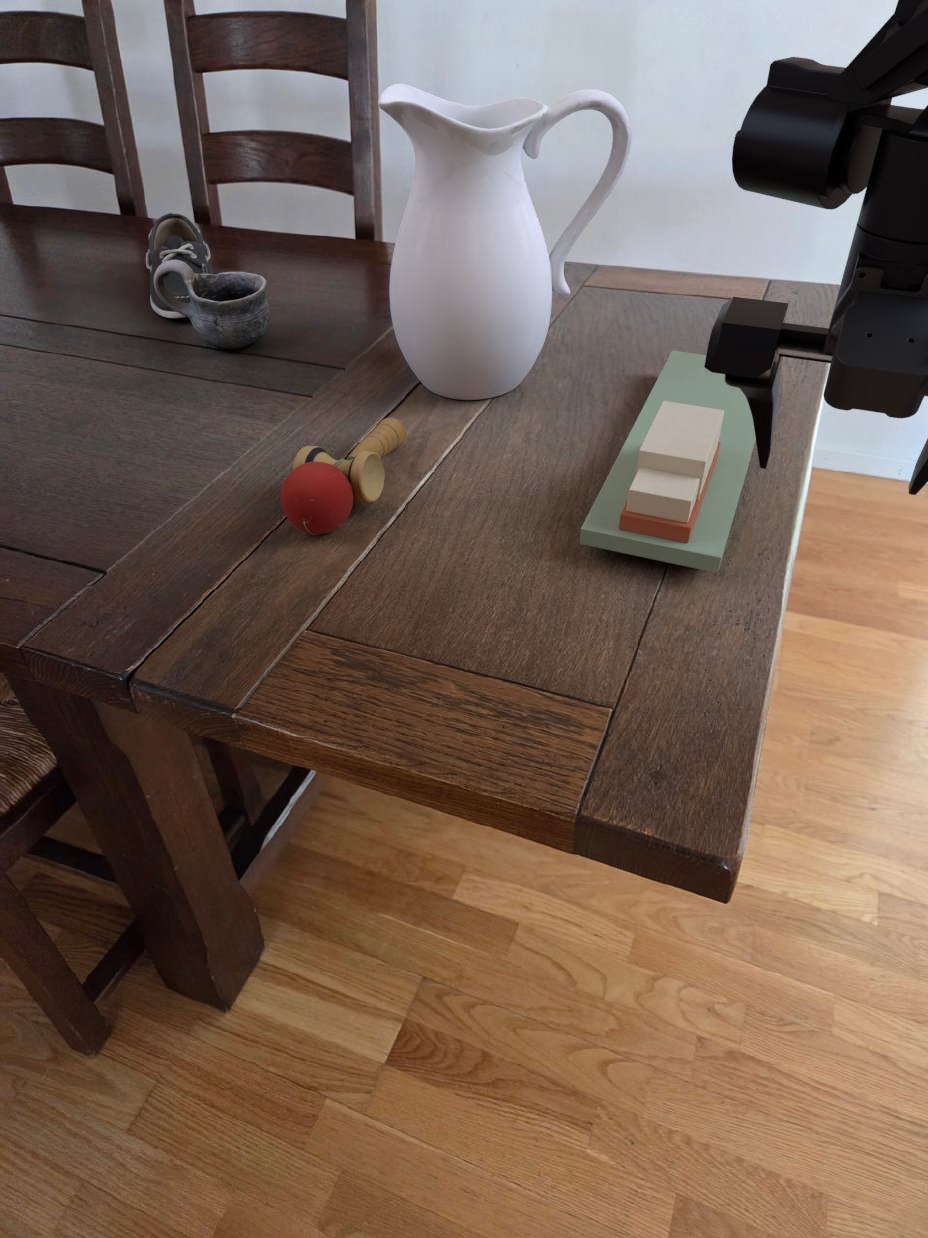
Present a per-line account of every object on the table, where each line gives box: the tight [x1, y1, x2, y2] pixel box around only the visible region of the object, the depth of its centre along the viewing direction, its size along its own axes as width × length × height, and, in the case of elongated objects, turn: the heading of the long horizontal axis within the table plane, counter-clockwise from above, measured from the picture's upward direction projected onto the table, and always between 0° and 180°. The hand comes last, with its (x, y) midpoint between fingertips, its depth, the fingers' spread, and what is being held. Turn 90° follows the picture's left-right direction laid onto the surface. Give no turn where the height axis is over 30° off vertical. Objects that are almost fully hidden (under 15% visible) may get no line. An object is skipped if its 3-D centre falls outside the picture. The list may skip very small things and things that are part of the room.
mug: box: [154, 260, 271, 350], centre depth 100 cm, size 10×12×10 cm
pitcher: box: [377, 83, 633, 401], centre depth 87 cm, size 24×17×28 cm
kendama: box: [280, 417, 407, 536], centre depth 77 cm, size 8×6×18 cm
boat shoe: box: [145, 212, 212, 319], centre depth 115 cm, size 25×9×8 cm, turn 13°
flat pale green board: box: [578, 350, 756, 574], centre depth 80 cm, size 36×11×3 cm, turn 158°
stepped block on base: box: [619, 401, 724, 543], centre depth 70 cm, size 14×6×5 cm, turn 158°
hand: (835, 478), depth 56 cm, fingers open, 9 cm apart
